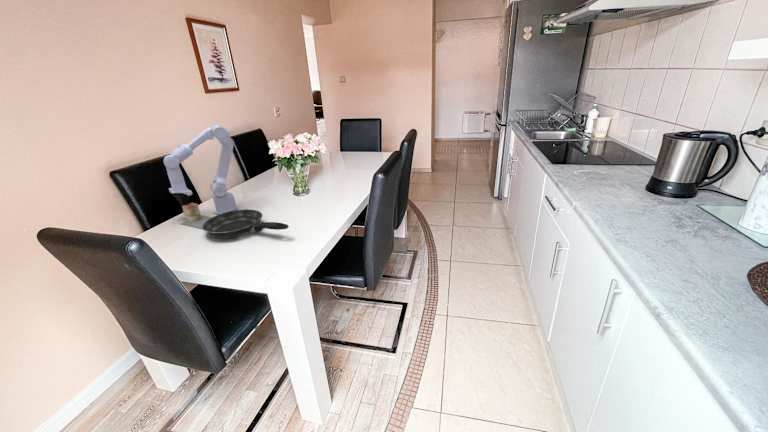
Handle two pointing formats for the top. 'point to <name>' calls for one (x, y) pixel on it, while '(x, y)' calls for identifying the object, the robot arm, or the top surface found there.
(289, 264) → the top surface
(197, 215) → the oak block
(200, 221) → the grey rubber mat
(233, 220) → the frying pan
